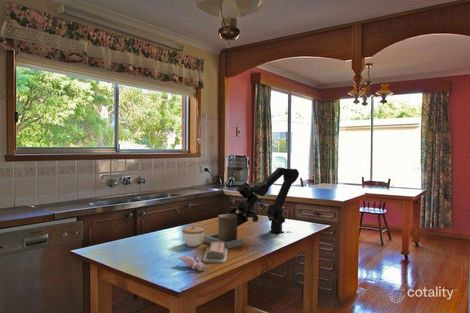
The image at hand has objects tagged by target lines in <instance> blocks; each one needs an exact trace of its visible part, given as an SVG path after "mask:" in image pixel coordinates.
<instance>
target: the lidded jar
mask: <svg viewBox="0 0 470 313" xmlns="http://www.w3.org/2000/svg"><path fill="white" fill-rule="evenodd" d="M181 232H182V234H181V235H182V240H183V242H184V243H185V244H186V246H188V247H199V245H200V244H201V243H202V242H203V241H204V240H203V239H204V236H205V233H204V232H205V229H204V228H203V227H201V226H195V225H192V226H187V227H184V228H182V230H181Z"/></svg>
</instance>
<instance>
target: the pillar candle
mask: <svg viewBox="0 0 470 313" xmlns="http://www.w3.org/2000/svg"><path fill="white" fill-rule="evenodd" d="M217 231H218V232H217V233H218V239H220V240H223V241H226V242H228V241H232V240H236V239H238V227H237V215H234V214H230V213H226V214H225V213H223V214H219V215H218V230H217Z"/></svg>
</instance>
